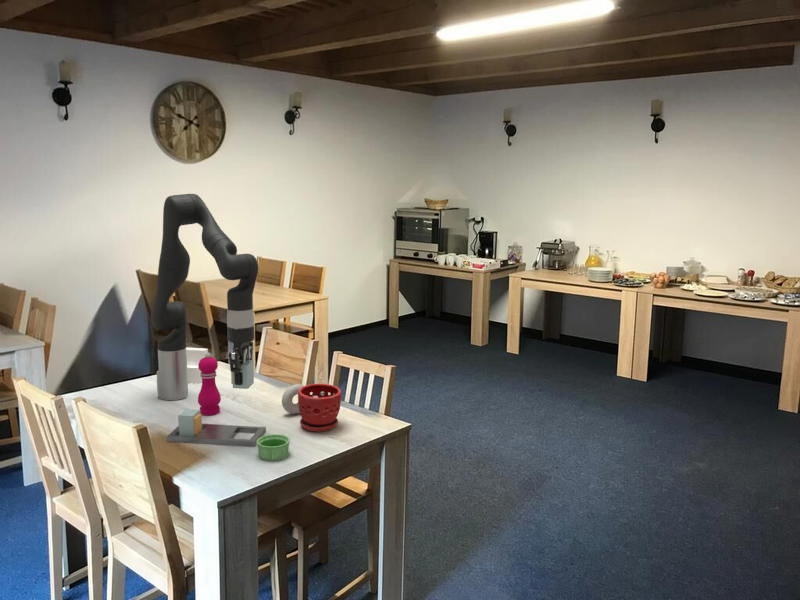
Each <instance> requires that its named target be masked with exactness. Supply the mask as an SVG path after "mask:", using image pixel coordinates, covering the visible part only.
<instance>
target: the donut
mask: <svg viewBox="0 0 800 600" xmlns="http://www.w3.org/2000/svg"><path fill="white" fill-rule="evenodd" d="M304 386H305V385H303V384H301V383H295V384H291V385H290V386H289V387H287V388H286V389H285V391H284V392H283V394H282V397H281V405H282V407H283V409H284V411H285V412H286V413H288V414H291V415H298V414H300V411H299V406H298V402H296V403H294V402H293V399H294V397H295V396H298V391H299V389H300V388H302V387H304Z"/></svg>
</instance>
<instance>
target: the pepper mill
mask: <svg viewBox="0 0 800 600" xmlns="http://www.w3.org/2000/svg"><path fill="white" fill-rule="evenodd" d="M218 367H219V363H218V360H217V359H216V358H214V357H213V356H212V357H211V353H210V352H208V353H206V354H205V358H202V359H201V360H200V361H199V364H198V368H199V370H200V371H201V373H200V374H201V376H200V377H201V378H202V383H201V387H200V390H199V393H198V396H197V403H198V405H199V406H200V407H199V410H200V413H201V414H202V416H215V415H217V414H219V413H220V412H221V406H220V405H219V404H220V403H221V401H222V399H221V398H222V397H221V396H222V395H221V393H220V391H219V389H218V387H217V384H216V378H217V371H216V370H217V369H218Z"/></svg>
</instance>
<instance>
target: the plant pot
mask: <svg viewBox="0 0 800 600" xmlns="http://www.w3.org/2000/svg"><path fill="white" fill-rule="evenodd" d="M321 393H324V394H321ZM329 394H330V395H329ZM341 402H342V390H341V388H339V387H338V386H336V385H332V384H328V383H312V384H307V385H304V387H302V388H300V389H299V391H298V394H297V403H298V406H299V411H300V413H299V414H300V416H301V419H300V420H299V423H300V426H301V427H302V428H303V429H305V430H307V431H311V432H315V431H316V432H319V433H321V431H322V432H327V431H330V430H333V429H334V428H335V427H336V426H337V425H338V423H339V420H338V418H337V417H338V415H339V413H340V409H341ZM316 432H315V433H316Z"/></svg>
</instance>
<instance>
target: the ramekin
mask: <svg viewBox="0 0 800 600" xmlns="http://www.w3.org/2000/svg"><path fill="white" fill-rule="evenodd" d="M290 441H291V438H290V436H287V435H285V434H278V433H276V434H275V433H273V434H271V433H270V434H266V435H265V434H264V435H263V436H262V437H260V438H259V439H258V440H257V444H256V445H257V451H258V452H257V453H258V457H259V458H260V459H262V460H263V461H269V460H274V461H279V459H280V460H283V459H285V458H287V456H288V455H289V449H290V448H289V447H290V443H291V442H290ZM284 457H285V458H284ZM282 458H283V459H282Z"/></svg>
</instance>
